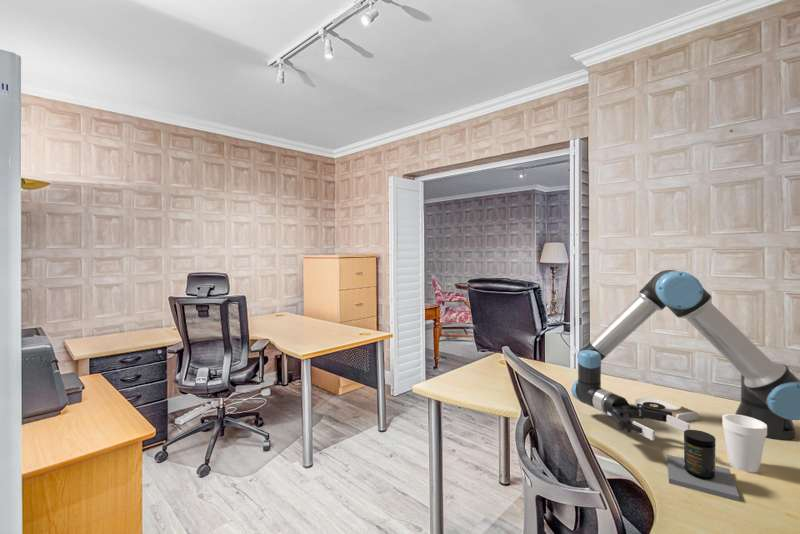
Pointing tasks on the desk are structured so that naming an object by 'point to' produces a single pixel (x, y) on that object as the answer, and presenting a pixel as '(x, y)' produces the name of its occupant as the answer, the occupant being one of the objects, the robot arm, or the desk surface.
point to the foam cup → (744, 441)
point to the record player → (669, 408)
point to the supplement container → (699, 454)
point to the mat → (716, 486)
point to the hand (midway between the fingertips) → (671, 432)
